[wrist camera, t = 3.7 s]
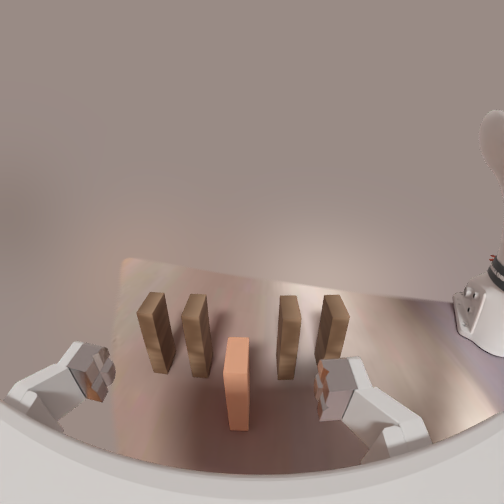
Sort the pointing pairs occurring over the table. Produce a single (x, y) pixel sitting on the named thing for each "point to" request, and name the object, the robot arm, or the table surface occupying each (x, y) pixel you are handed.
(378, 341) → the table surface
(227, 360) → the domino
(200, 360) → the domino
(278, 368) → the domino
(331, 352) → the domino
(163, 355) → the domino
